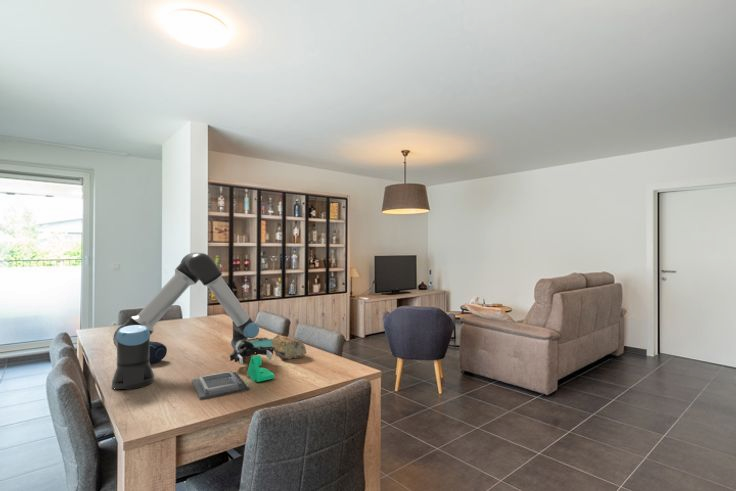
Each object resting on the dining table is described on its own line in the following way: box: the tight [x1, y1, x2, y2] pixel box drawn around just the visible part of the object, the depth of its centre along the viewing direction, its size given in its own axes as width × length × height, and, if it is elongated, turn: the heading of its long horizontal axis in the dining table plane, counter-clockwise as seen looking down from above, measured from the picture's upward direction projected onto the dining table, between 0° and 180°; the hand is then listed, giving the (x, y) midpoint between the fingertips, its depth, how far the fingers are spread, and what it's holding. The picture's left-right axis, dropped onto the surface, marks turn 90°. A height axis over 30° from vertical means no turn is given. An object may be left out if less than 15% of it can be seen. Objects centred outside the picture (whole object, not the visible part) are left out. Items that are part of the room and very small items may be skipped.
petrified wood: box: [271, 334, 307, 360], centre depth 199 cm, size 19×13×10 cm
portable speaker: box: [149, 340, 168, 364], centre depth 190 cm, size 25×10×10 cm, turn 73°
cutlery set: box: [248, 337, 273, 349], centre depth 222 cm, size 20×30×2 cm, turn 35°
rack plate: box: [191, 370, 249, 400], centre depth 155 cm, size 18×22×2 cm
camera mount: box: [247, 354, 275, 383], centre depth 164 cm, size 12×8×10 cm, turn 37°
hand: (257, 358), depth 173 cm, fingers open, 13 cm apart
